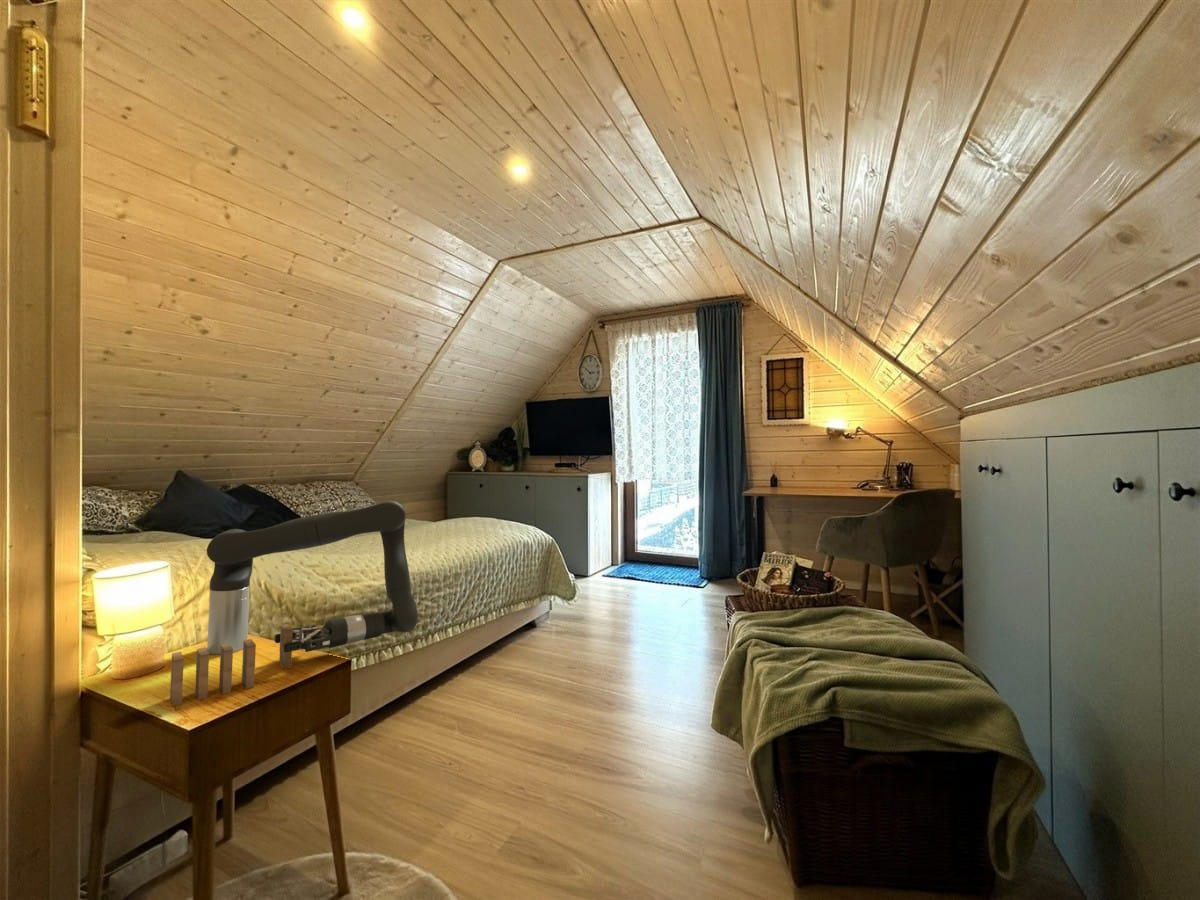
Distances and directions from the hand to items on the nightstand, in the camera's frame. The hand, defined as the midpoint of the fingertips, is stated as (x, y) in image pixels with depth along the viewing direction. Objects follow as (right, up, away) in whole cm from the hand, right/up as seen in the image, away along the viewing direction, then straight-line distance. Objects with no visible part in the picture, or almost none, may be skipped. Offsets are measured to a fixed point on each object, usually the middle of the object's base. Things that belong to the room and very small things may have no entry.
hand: (279, 643), depth 137 cm
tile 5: (-11, -5, -20) cm, 23 cm away
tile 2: (-1, -6, -11) cm, 12 cm away
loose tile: (+1, -6, +1) cm, 6 cm away
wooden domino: (-8, -6, -17) cm, 19 cm away
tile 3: (-4, -6, -14) cm, 15 cm away
